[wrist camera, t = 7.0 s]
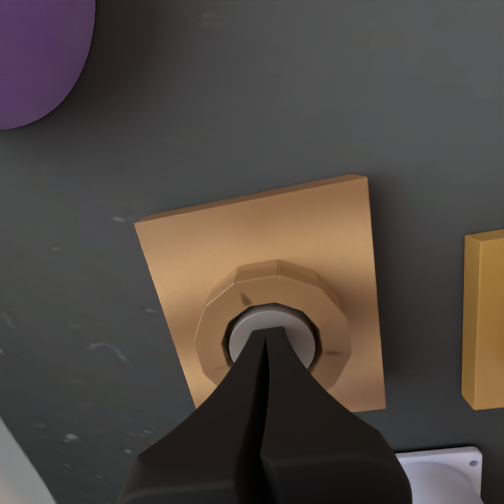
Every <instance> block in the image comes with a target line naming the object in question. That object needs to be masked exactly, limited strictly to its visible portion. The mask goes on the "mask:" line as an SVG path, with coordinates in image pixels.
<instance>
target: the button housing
mask: <svg viewBox="0 0 504 504" xmlns="http://www.w3.org/2000/svg"><path fill="white" fill-rule="evenodd" d="M134 225H135V228H136V231H137V234H138V237H139V240H140V243H141V246H142V249H143V252H144V255H145V258H146V261H147V264H148V267H149V270H150V273H151V276H152V279H153V282H154V285H155V288H156V291H157V294H158V297H159V299H160V302H161V305H162V308H163V311H164V314H165V317H166V320H167V323H168V326H169V329H170V332H171V335H172V338H173V341H174V344H175V347H176V350H177V353H178V356H179V359H180V362H181V365H182V368H183V371H184V374H185V377H186V380H187V383H188V386H189V389H190V392H191V395H192V398H193V401H194V404H195V407H196V409H197V408H198V407H199V406H200V405H201V404H202V403H203V402H204V401H205V400H206V399H207V398H208V397H209V396H210V395H211V393H212V392H213V391H214V390H215V389H216V388H217V386H218V385H219V384H220V382H221V381H222V380H223V378H224V377H225V376H226V374H227V373H228V371H229V370H230V368H231V367H232V365H233V364H234V362H233V360H232V358H231V355H230V350H229V343H230V337H231V332H232V327H233V322H234V318H235V317H236V316H238V315H239V314H240V313H242V312H243V311H244V310H246V309H247V308H248V307H249V306H256V305H262V304H268V303H275V302H276V303H279V304H283V305H286V306H289V307H292V308H295V309H298V310H301V311H303V312H304V313H305V314H306V315H307V316H308V318H309V321H310V325H311V329H312V333H313V337H314V341H315V354H314V357H313V360H312V362H311V364H310V365H309V367H308V368H307V370H308V371H309V372H310V373H311V375H312V376H313V377H314V378H315V379H316V380H317V381H318V383H319V384H320V385H321V386H322V387H323V388H324V389H325V390H326V391H327V392H328V393H329V394H330V395H332V396H333V397H334V398H335V399H336V400H337V401H338V402H340V403H341V404H342V405H343V406H344V407H345V408H347V409H348V410H349V411H350V412H358V411H367V410H376V409H385V408H386V400H385V388H384V375H383V363H382V350H381V338H380V325H379V313H378V301H377V288H376V276H375V263H374V251H373V238H372V226H371V214H370V201H369V189H368V178H367V177H365V176H360V175H356V174H347V175H342V176H337V177H332V178H327V179H322V180H317V181H312V182H307V183H302V184H297V185H292V186H288V187H283V188H278V189H273V190H268V191H263V192H258V193H253V194H248V195H243V196H238V197H233V198H228V199H223V200H218V201H213V202H208V203H203V204H198V205H193V206H188V207H183V208H178V209H173V210H168V211H163V212H158V213H153V214H151V215H149V216H147V217H145V218H143V219H142V220H140V221H138V222H136V223H134Z"/></svg>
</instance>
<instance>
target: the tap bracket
mask: <svg viewBox="0 0 504 504" xmlns="http://www.w3.org/2000/svg"><path fill="white" fill-rule="evenodd" d="M462 396H463V397H464V398H465V399H466V400H467V402H468V403H469V404H470V405H471V407H472V408H473V409H474V410H483V409H492V408H501V407H504V229H499V230H493V231H488V232H482V233H476V234H470V235H466V236H465V249H464V298H463V347H462Z"/></svg>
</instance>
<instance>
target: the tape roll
mask: <svg viewBox="0 0 504 504" xmlns="http://www.w3.org/2000/svg"><path fill="white" fill-rule="evenodd" d="M94 22H95V0H0V130H7V129H12V128H17V127H20V126H24V125H27V124H30V123H32V122H34V121H36V120H38V119H40V118H42V117H44V116H45V115H47V114H48V113H49V112H51V111H52V110H53V109H55V108H56V107H57V106H58V105H59V104H60V103H61V102H62V101H63V100H64V99H65V97H66V96H67V95H68V94H69V93H70V91H71V90H72V88H73V86H74V85H75V83H76V82H77V80H78V78H79V76H80V74H81V72H82V69H83V67H84V65H85V62H86V59H87V56H88V53H89V49H90V45H91V40H92V36H93V29H94Z"/></svg>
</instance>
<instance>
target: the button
mask: <svg viewBox="0 0 504 504" xmlns="http://www.w3.org/2000/svg"><path fill="white" fill-rule="evenodd" d="M278 326H282V327H284V328H285V332H286V336H287V338H288V340H289V342H290V344H291V346H292V348H293V349H294V351H295V353H296V354H297V356H298V357H299V359H300V360H301V362H302V363H303V364H304V366H305V367H306V368H308V367H309V365H310V364H311V362H312V360H313V357H314V354H315V341H314V337H313V333H312V329H311V325H310V321H309V318H308V316H307V315H306V314H305V313H304V312H303V311H301V310H298V309H295V308H292V307H289V306H286V305H283V304H279V303H276V302H275V303H268V304H262V305H256V306H249V307H248V308H247V309H246V310H244V311H243V312H242V313H240V314H239V315H238V316H236V317H235V318H234V322H233V327H232V332H231V337H230V343H229V350H230V355H231V358H232V360H233V362H235V361H236V359H237V357H238V356H239V354H240V352H241V351H242V349H243V347H244V345H245V344H246V342H247V340H248V338H249V336H250V334H251V332H252V331H253V330H258V329H265V328H272V327H278Z"/></svg>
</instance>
